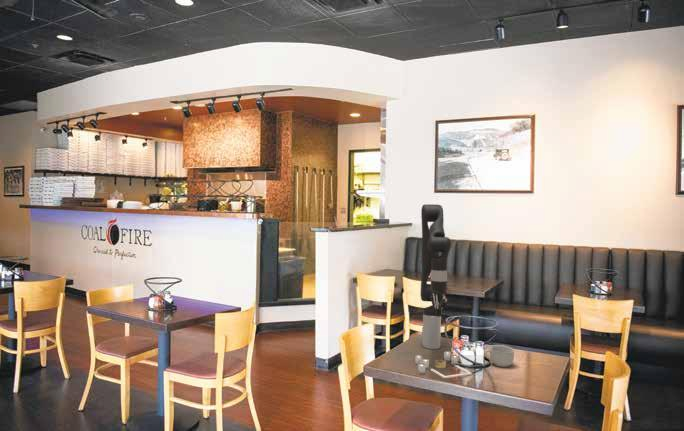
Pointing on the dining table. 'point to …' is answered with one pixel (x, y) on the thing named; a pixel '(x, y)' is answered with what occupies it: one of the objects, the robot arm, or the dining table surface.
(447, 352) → the spacer field
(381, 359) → the dining table surface
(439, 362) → the nut
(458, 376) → the frame
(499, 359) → the teacup
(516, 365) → the dining table surface
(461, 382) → the dining table surface
